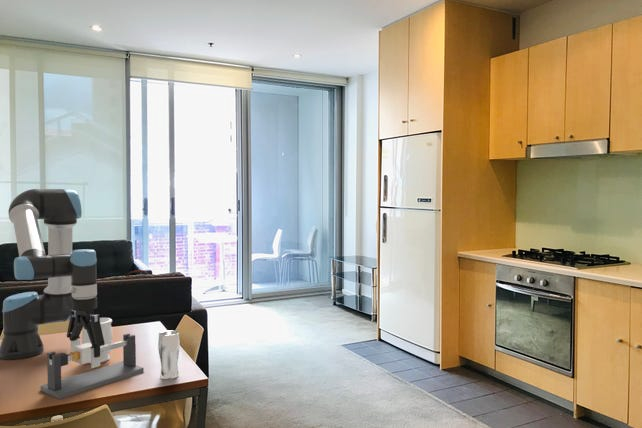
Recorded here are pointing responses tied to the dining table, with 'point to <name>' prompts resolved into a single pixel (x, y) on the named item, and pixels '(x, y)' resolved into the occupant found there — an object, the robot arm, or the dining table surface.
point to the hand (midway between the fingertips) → (85, 363)
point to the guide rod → (76, 355)
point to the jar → (107, 337)
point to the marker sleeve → (83, 353)
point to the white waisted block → (169, 353)
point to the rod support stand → (90, 373)
